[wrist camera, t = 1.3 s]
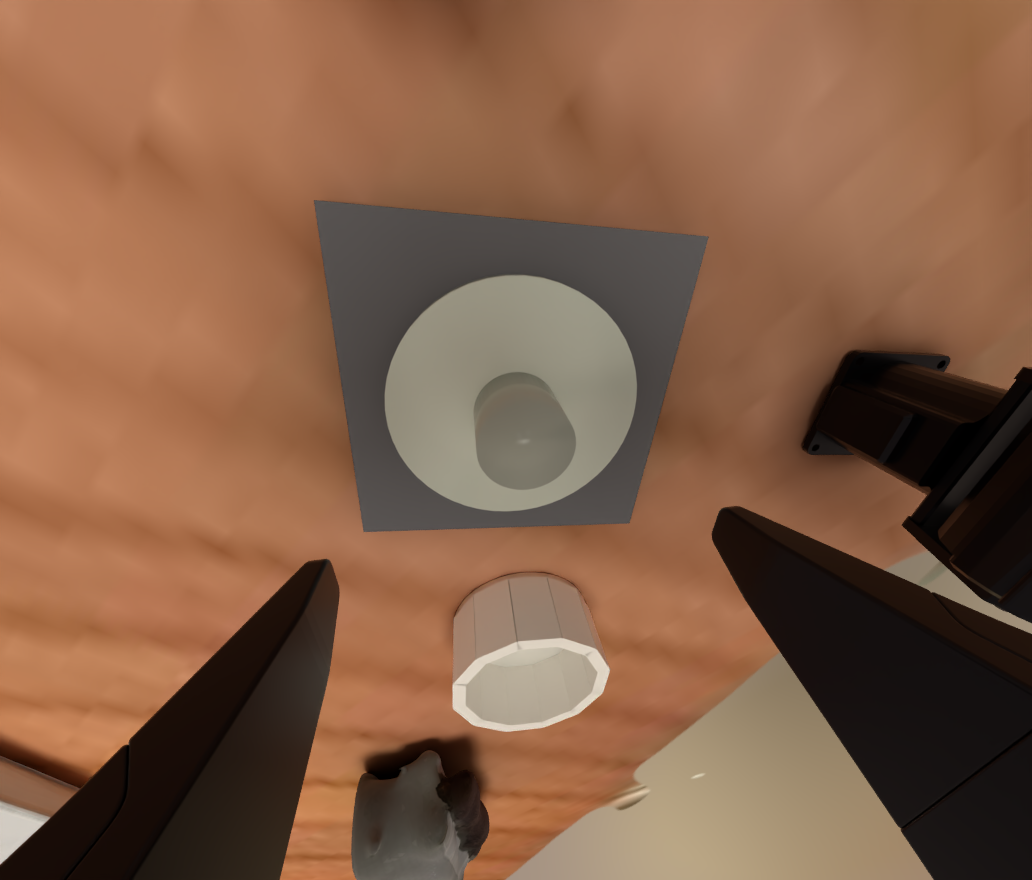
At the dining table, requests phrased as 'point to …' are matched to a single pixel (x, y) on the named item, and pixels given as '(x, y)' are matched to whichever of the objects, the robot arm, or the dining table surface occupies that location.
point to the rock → (417, 823)
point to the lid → (510, 392)
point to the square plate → (26, 803)
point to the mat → (467, 257)
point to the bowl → (525, 653)
